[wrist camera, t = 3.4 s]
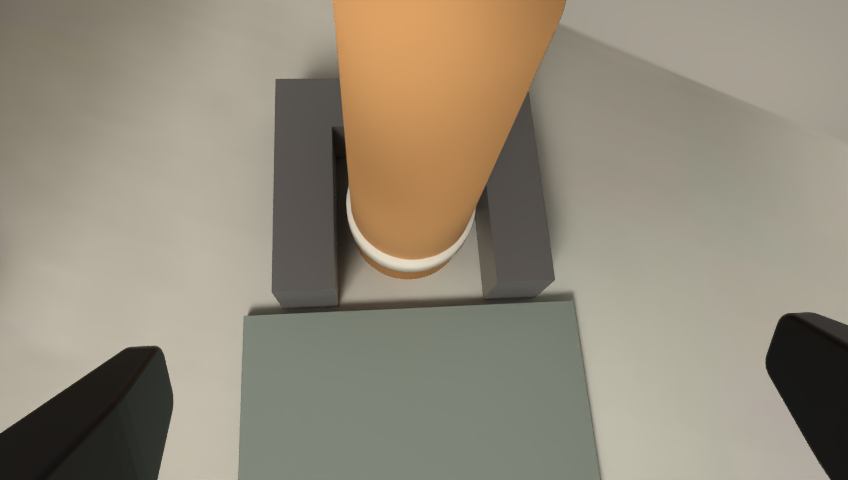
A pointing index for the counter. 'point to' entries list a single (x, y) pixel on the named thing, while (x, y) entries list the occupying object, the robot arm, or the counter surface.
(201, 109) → the counter surface
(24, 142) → the counter surface
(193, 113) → the counter surface
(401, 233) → the orange peg
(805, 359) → the robot arm
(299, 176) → the dark grey piece
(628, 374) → the counter surface
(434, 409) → the mat
